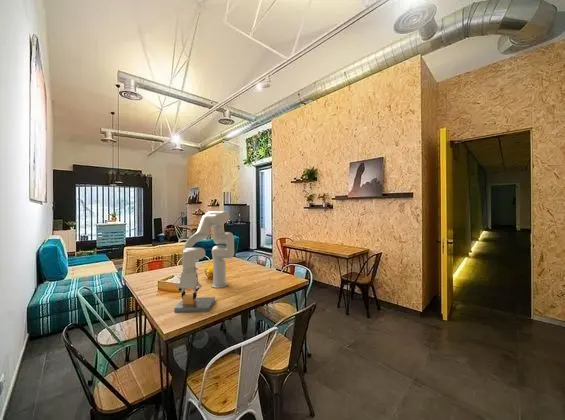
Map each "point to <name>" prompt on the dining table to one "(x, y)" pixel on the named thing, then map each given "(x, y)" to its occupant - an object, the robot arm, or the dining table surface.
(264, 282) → the dining table surface
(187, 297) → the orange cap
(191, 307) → the plate
